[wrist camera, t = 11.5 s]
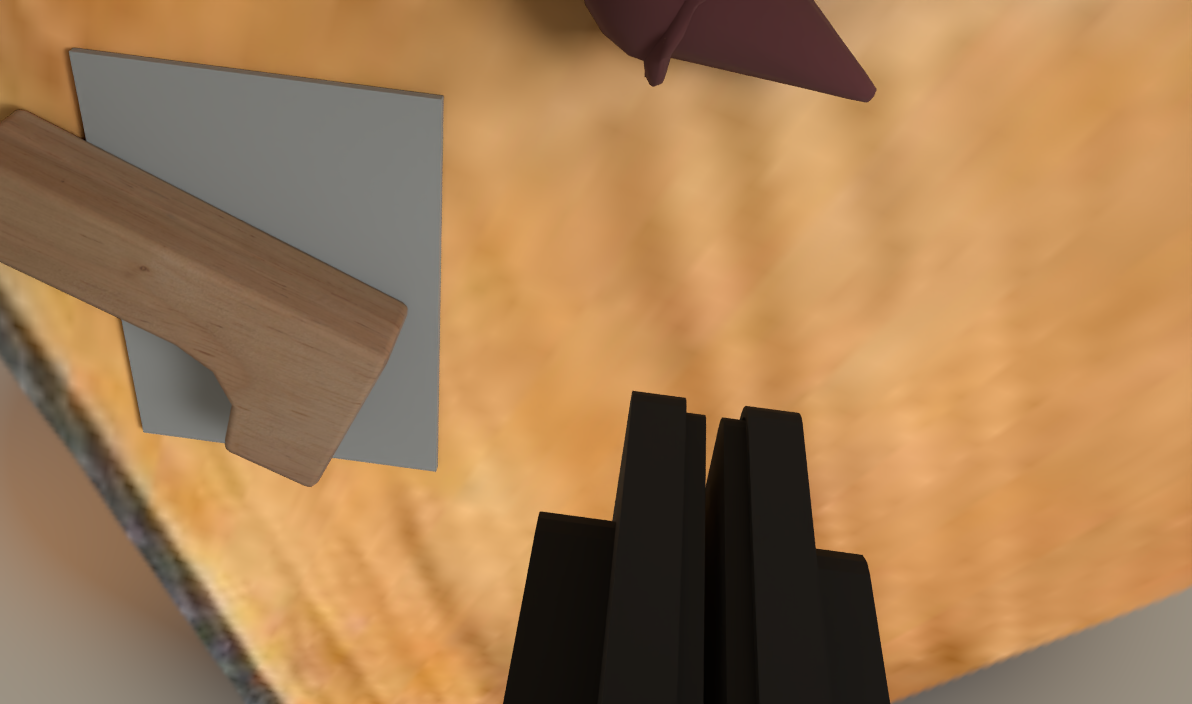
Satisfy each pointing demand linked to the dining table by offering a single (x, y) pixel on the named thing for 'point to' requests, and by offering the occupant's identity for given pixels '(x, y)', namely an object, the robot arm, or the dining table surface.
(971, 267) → the dining table surface
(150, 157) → the mat
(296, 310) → the wooden block
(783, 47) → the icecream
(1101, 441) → the dining table surface
